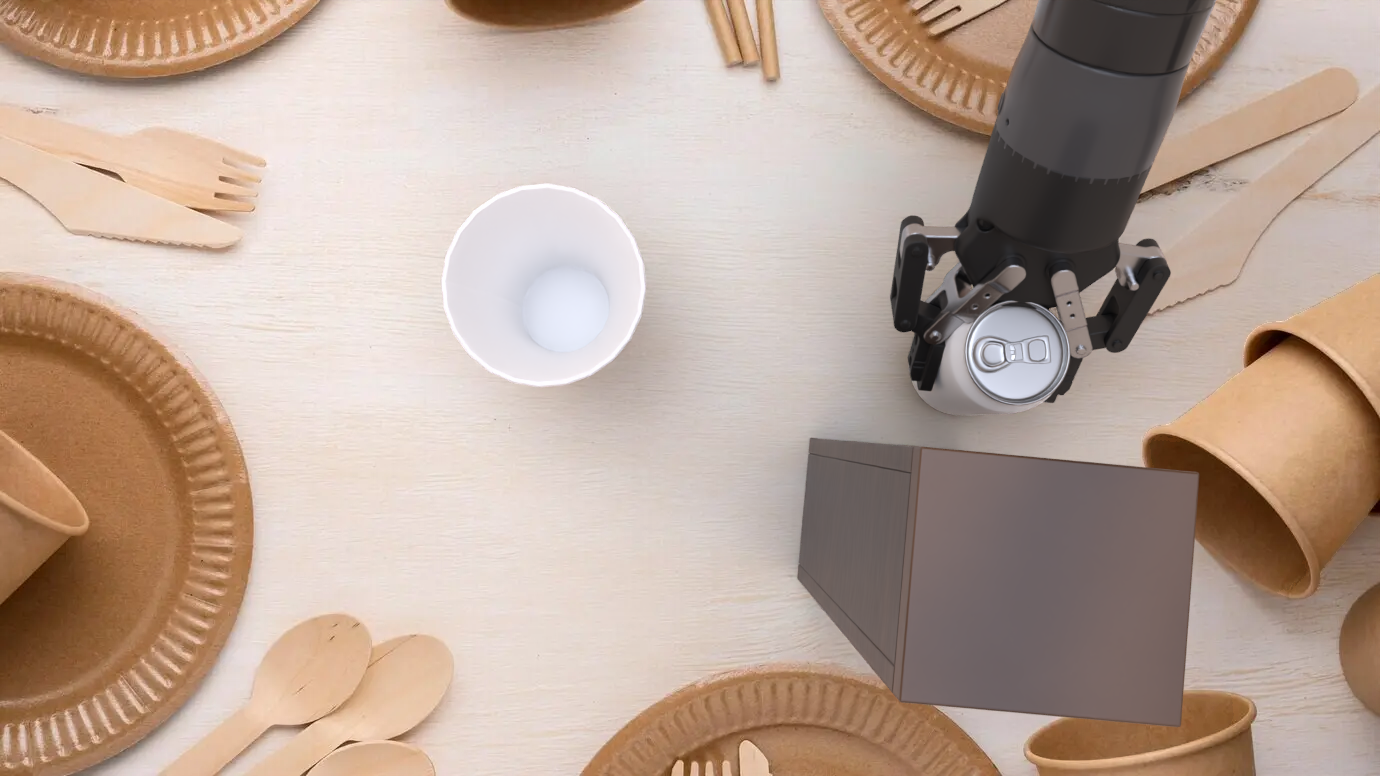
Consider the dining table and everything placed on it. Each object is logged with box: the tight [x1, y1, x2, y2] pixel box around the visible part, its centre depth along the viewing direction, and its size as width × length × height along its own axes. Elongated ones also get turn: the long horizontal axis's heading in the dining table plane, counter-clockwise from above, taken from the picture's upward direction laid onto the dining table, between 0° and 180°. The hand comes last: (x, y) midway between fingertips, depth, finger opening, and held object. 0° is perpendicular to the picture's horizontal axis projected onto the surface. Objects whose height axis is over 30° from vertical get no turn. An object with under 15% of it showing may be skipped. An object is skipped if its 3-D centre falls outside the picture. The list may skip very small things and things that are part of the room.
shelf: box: [892, 445, 1200, 728], centre depth 38 cm, size 10×9×1 cm
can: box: [907, 301, 1070, 416], centre depth 62 cm, size 6×6×12 cm
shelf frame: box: [797, 437, 916, 694], centre depth 53 cm, size 10×9×29 cm
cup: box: [440, 182, 648, 388], centre depth 60 cm, size 10×10×14 cm
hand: (983, 386), depth 61 cm, fingers closed on can, 6 cm apart
